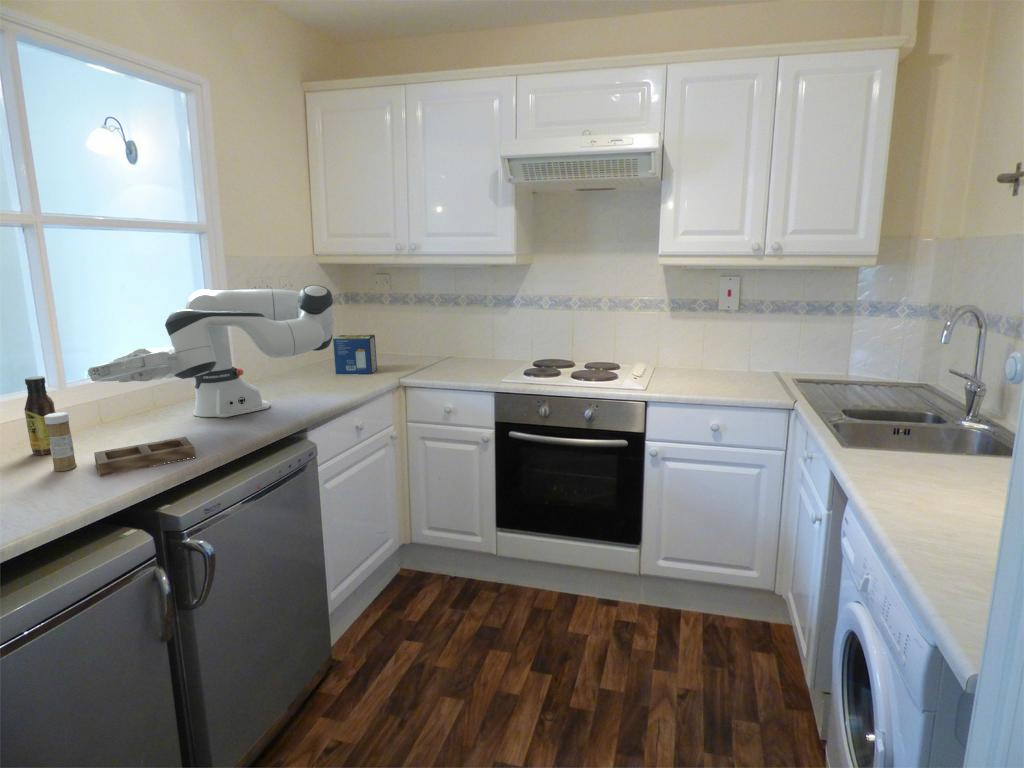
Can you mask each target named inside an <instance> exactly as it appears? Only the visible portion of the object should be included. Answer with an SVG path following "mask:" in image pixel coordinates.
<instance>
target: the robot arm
mask: <svg viewBox="0 0 1024 768" xmlns="http://www.w3.org/2000/svg"><path fill="white" fill-rule="evenodd" d="M333 303H334V299H333V295H332V292H331V290H329V288H327V287H325V286H324V285H319V284H311V285H307V286H304V287H303V288H302V289H301V290H300V291H297V290H289V289H282V288H281V289H278V288H276V289H274V288H269V289H267V288H261V289H259V288H258V289H255V288H254V289H253V288H252V289H230V290H227V289H226V290H225V289H223V290H212V289H207V288H204V289H203V288H201V289H198V290H195V291H194V292H193V293H191V294H190V295H189V297H188V299H187V301H186V305H185V309H181V310H176V311H173V312H171V313H170V315H169V316H167V317H168V318H167V319H166V322H165V323H164V326H165V329H166V332H167V334H168V336H169V339H170V342H171V345H172V346H163V347H160V348H159V347H148V348H147V347H146V348H137V349H136V350H134V351H132V352H131V353H128V354H127V355H124V356H121V357H118V358H115V359H113V361H111V362H106V363H102V364H98V365H93V366H91V367H89V368H88V369H87V373H88V376H89V377H90V379H91V381H92V382H95V383H96V382H98V383H100V382H103V383H104V382H119V383H128V382H152V381H158V380H162V379H174V378H178V379H180V380H181V379H182V380H185V379H191V378H192V381H193V386H194V389H195V404H194V410H193V416H196V417H199V418H200V417H201V418H214V417H215V418H229V417H232V416H238V415H243V414H247V413H252V412H258V411H262V410H267V409H269V408H270V407H271V406H270V403H269V402H268V401H267V400H264V399H263V398H262V396H261V393H260V391H259V389H258V388H257V387H256V386H255V385H253V384H251V383H250V382H248V381H246V380H244V379H243V378H241V377H240V376H243V375H244V374H245V373H244V369H241V368H237V367H234V366H233V362H232V354H231V353H232V352H231V344H230V335H229V327H237V328H239V329H242V330H243V331H244V332H245V333H246V334H247V335H248V336H249V338H250V339H251V340H252V342H253V343H254V344H255V346H256V348H257V349H259V351H260V352H262V353H263V354H264V355H266V356H268V357H270V358H272V359H283V358H290V357H293V356H295V357H296V356H298V355H302V354H305V353H308V352H311V351H316V352H317V351H323V350H325V349H327V348H328V347H330V346H331V345H330V344H331V342H332V341H333V330H334V308H333V305H334V304H333Z"/></svg>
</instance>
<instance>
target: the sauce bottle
mask: <svg viewBox="0 0 1024 768" xmlns="http://www.w3.org/2000/svg"><path fill="white" fill-rule="evenodd" d="M24 382H25V383H24V384H25V385H26V390H27V397H26V402H25V405H24V409H23V410H24V415H25V420H26V426H27V432H28V439H29V444H30V449H31V451H32V453H33V455H36V456H43V455H44V454H45V455H49V454H51V450H50V442H49V436H48V430H47V426H46V424H45V419H44V417H45V416H46V415H48V414H52V413H57V412H56V408H55V402H54V401H53V399H52V398H51V397H50V396H49V395H48V394H47V392H48V391H47V387H46V383H47V382H46V377H45V376H42V375H41V376H40V375H38V376H37V375H35V376H29V377H27V378H25V379H24Z"/></svg>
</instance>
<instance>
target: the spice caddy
mask: <svg viewBox="0 0 1024 768" xmlns="http://www.w3.org/2000/svg"><path fill="white" fill-rule="evenodd" d="M195 451H196V449H195V445H194V444H193V443H192V442H191V441H190V440H189V439H188V438H187V436H183V437H182V436H181V437H177V438H176V437H175V438H171V439H164V440H160V441H153V442H147V443H142V444H140V443H139V444H135V445H129V446H124V447H123V446H122V447H118V448H112V449H111V448H110V449H107V450H106V449H105V450H101V451H94V452H93V453H94V454H93V455H94V460H95V461H94V462H95V466H96V468H97V471H98V474H99V477H102V476H108V475H114V473H115V474H120V473H124V472H128V471H129V472H131V471H134V470H140V468H141V469H146V468H150V466H151V467H155V466H154V465H156V466H160V464H162V465H165V464H164V463H167V464H169V463H168V462H172V463H174V462H173V461H177V462H179V461H178V460H182V461H184V460H183V459H187V458H193V457H196V452H195ZM193 459H194V458H193ZM145 467H146V468H145Z"/></svg>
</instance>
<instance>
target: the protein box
mask: <svg viewBox="0 0 1024 768" xmlns="http://www.w3.org/2000/svg"><path fill="white" fill-rule="evenodd" d="M332 343H333V357H334V358H333V359H334V372H335V375H336V374H358V375H372V374H373V373H375V372H376V371H378V363H377V348H376V336H375V334H340V335H337V336H336V337H332Z"/></svg>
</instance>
